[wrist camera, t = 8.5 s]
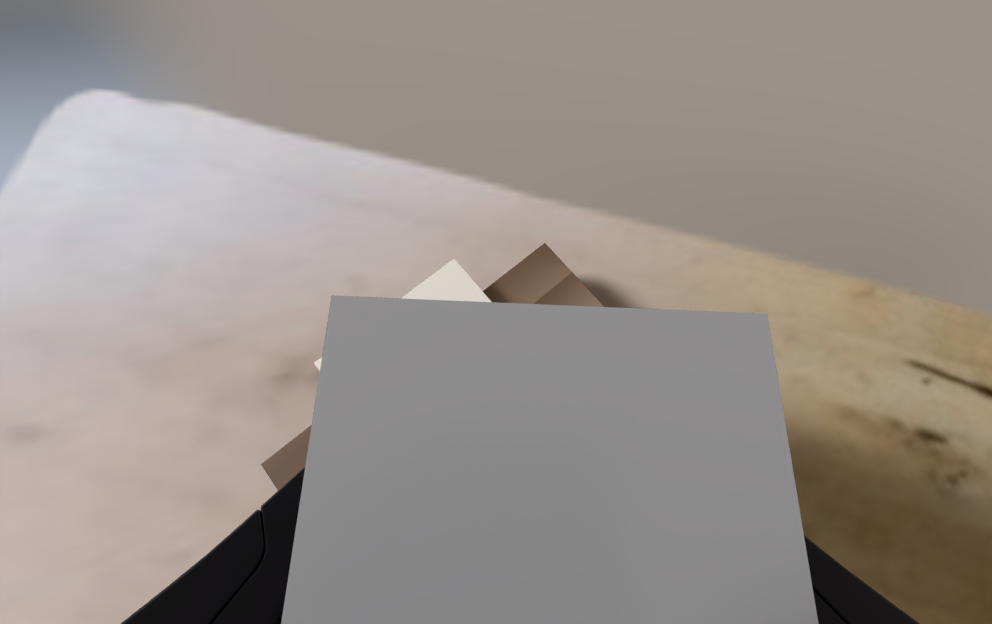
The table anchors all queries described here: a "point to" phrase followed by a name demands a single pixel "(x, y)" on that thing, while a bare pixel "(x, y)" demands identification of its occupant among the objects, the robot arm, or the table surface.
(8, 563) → the table surface
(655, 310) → the grey stone block
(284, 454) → the box
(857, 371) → the table surface
